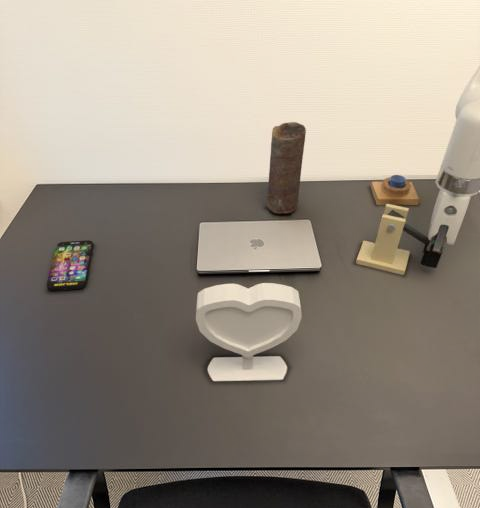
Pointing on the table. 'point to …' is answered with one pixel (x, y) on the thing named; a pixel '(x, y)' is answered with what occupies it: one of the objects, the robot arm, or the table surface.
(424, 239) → the lever
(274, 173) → the rusty metal cylinder
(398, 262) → the switch bracket
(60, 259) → the smartphone
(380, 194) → the button block
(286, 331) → the heart sculpture
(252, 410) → the table surface
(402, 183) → the button
